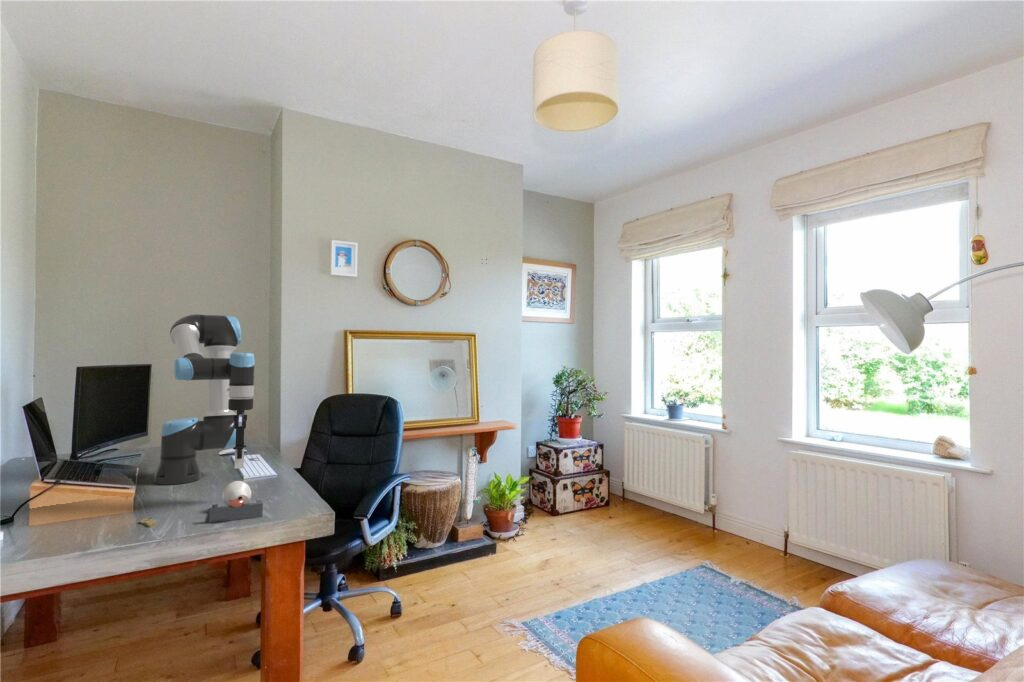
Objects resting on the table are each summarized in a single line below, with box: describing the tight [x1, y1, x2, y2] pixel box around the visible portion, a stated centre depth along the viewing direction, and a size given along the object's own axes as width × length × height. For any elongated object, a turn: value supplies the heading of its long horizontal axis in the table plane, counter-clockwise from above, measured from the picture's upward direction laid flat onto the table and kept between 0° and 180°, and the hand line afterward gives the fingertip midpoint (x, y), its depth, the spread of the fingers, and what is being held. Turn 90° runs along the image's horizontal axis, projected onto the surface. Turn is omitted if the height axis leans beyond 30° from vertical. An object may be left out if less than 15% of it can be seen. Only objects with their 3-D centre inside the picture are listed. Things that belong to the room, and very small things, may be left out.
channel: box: [208, 498, 264, 524], centre depth 160 cm, size 16×14×6 cm
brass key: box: [140, 517, 158, 528], centre depth 149 cm, size 7×3×1 cm, turn 52°
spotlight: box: [221, 480, 252, 506], centre depth 162 cm, size 8×11×8 cm
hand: (239, 467), depth 174 cm, fingers closed
